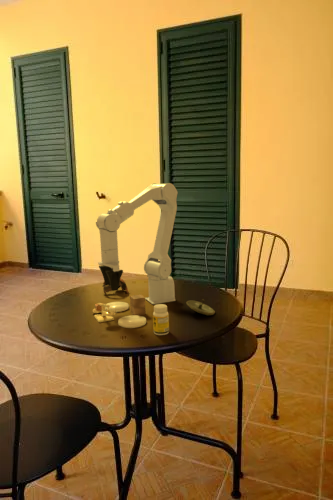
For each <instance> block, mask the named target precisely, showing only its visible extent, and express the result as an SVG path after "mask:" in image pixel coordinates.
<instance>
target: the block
mask: <svg viewBox="0 0 333 500" xmlns="http://www.w3.org/2000/svg"><path fill="white" fill-rule="evenodd" d="M145 298H146V297H145V296H144V295H143V294H134V295H130V296H129V301H130V302H129V303H130V304H129V308H130V313H131V315H138V316H144V315H146V299H145Z"/></svg>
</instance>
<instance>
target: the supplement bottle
mask: <svg viewBox="0 0 333 500" xmlns="http://www.w3.org/2000/svg"><path fill="white" fill-rule="evenodd" d="M169 316H170V315H169V312H168V306H167V305H166V304H165V303H159V304H154V306H153V312H152V324H153V325H152V327H153V328H152V329H153V333H154V335H156V336H165V335H168V334H169V332H170V323H169V321H170V317H169Z"/></svg>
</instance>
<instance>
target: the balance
mask: <svg viewBox="0 0 333 500" xmlns="http://www.w3.org/2000/svg"><path fill="white" fill-rule="evenodd" d="M106 304H107V303H101V302H98V303H96V304H94V308H93V309H92V313H93V314H94V318H95V320H96V321H97V322H98V323H104V322H110V321H114V320H115V319H114V317H113V316H114V315H117V312H116V311H114V310H109V307H110V305H106ZM105 307H107V308H108V310H106V311H105Z"/></svg>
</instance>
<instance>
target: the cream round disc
mask: <svg viewBox="0 0 333 500" xmlns="http://www.w3.org/2000/svg"><path fill="white" fill-rule="evenodd" d="M117 321H118V322H117V324H118V326H120V327H121V328H126V329H135V328H141V327H143V326H145V325H146V324H147V318H146V317H145V316H144V315H133V314H131V315H126V316H122V317H120V318H119V319H117Z"/></svg>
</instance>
